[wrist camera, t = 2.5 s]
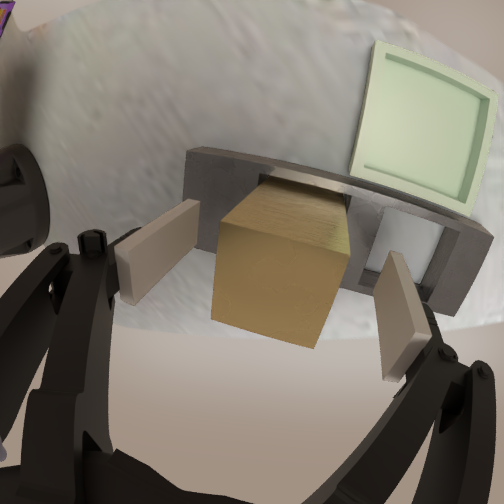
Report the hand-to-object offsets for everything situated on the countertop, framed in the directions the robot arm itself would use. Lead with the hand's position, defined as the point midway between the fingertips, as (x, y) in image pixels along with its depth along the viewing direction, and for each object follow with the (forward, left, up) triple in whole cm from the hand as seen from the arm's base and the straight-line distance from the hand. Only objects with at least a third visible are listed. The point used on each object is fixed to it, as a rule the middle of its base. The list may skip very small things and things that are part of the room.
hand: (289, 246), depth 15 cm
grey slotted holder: (+3, 0, -5) cm, 6 cm away
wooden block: (0, 0, -6) cm, 6 cm away
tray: (+7, +9, -5) cm, 12 cm away
